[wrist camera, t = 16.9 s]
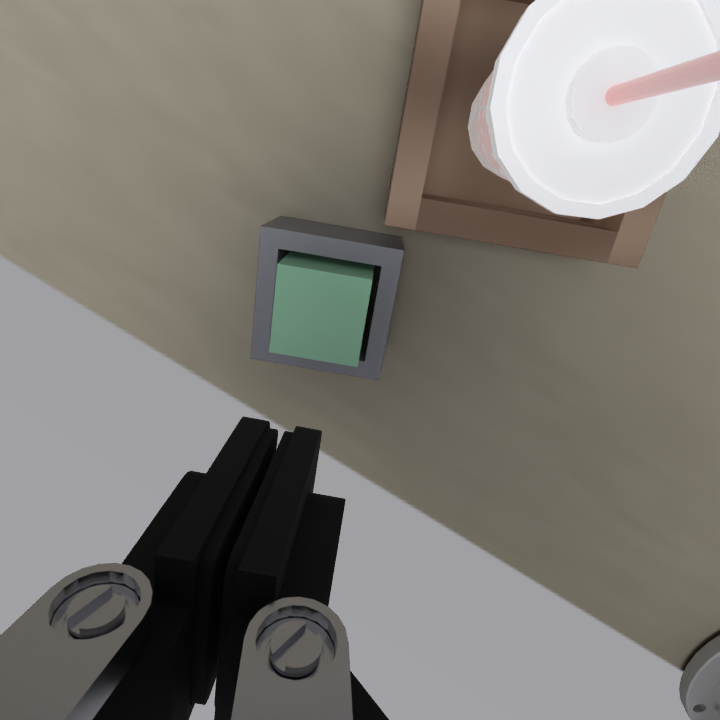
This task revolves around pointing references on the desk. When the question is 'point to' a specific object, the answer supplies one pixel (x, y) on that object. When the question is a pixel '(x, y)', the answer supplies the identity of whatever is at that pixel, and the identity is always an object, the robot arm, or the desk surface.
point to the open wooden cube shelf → (460, 164)
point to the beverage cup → (601, 102)
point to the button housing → (334, 244)
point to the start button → (320, 308)
